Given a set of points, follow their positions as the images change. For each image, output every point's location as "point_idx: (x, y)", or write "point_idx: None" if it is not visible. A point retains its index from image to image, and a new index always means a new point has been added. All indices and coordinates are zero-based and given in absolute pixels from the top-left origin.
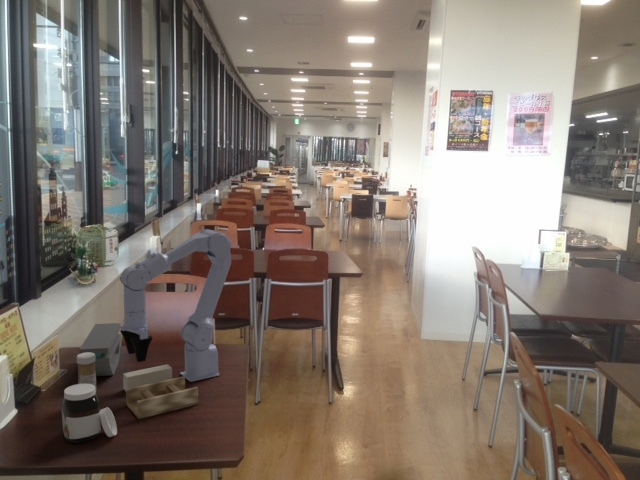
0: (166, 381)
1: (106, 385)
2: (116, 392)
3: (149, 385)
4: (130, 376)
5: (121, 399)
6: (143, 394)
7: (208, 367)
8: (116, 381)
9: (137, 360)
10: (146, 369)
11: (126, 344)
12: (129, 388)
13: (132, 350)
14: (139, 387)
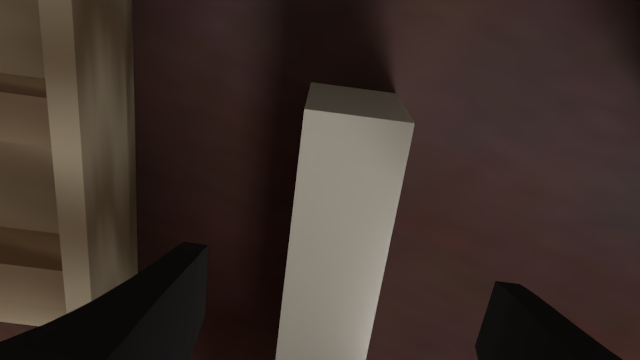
0: (64, 290)
1: (557, 32)
2: (385, 33)
3: (54, 174)
4: (303, 140)
5: (247, 8)
6: (6, 90)
7: None
8: (565, 118)
9: (176, 247)
10: (360, 291)
11: (581, 348)
12: (64, 21)
13: (497, 337)
14: (48, 97)
